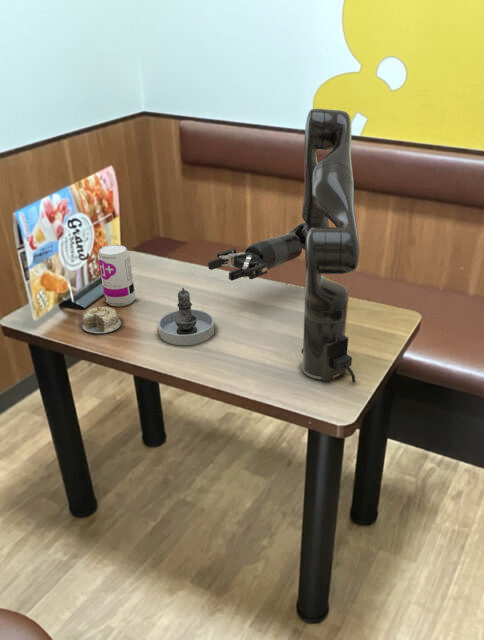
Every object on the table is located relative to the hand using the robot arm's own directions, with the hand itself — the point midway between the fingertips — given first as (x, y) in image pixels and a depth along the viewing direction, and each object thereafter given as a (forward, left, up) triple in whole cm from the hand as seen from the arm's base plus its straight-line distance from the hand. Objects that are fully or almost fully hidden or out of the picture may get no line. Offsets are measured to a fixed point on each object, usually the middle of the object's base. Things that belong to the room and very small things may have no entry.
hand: (219, 271), depth 153 cm
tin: (-1, +11, -13) cm, 17 cm away
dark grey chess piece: (-1, +11, -13) cm, 17 cm away
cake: (+15, +27, -13) cm, 34 cm away
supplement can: (+25, +17, -13) cm, 33 cm away
